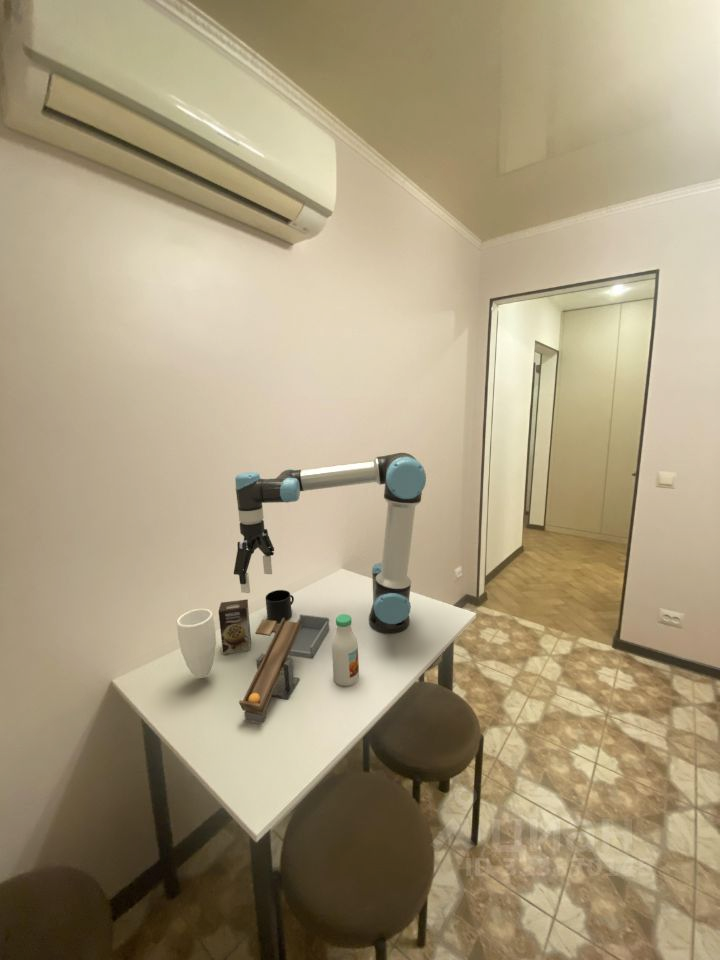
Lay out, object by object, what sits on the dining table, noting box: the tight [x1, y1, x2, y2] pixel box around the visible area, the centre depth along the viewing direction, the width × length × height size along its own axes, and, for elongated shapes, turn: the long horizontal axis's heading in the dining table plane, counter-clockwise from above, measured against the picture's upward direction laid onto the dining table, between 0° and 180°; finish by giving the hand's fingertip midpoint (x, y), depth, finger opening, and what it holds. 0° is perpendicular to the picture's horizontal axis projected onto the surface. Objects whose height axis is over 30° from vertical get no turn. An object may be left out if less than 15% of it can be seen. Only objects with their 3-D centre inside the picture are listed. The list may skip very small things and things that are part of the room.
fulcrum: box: [256, 653, 300, 700], centre depth 113 cm, size 11×8×9 cm
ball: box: [248, 693, 260, 704], centre depth 102 cm, size 3×3×3 cm
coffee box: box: [218, 599, 252, 656], centre depth 131 cm, size 9×6×16 cm
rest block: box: [244, 711, 267, 724], centre depth 102 cm, size 5×2×2 cm, turn 75°
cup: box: [176, 608, 217, 679], centre depth 115 cm, size 10×10×22 cm
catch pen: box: [288, 614, 330, 659], centre depth 134 cm, size 11×16×5 cm
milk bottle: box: [331, 613, 360, 687], centre depth 114 cm, size 8×8×20 cm
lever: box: [238, 618, 302, 714], centre depth 113 cm, size 14×28×5 cm, turn 165°
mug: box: [265, 589, 295, 624], centre depth 151 cm, size 9×12×9 cm
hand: (257, 582), depth 128 cm, fingers open, 13 cm apart
